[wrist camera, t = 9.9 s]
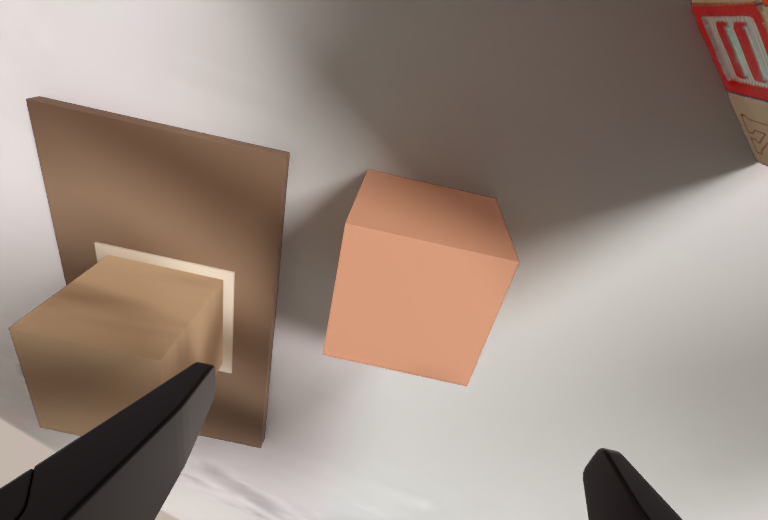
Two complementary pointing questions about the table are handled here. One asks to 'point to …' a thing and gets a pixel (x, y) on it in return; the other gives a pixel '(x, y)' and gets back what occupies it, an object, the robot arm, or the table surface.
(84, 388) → the oak cube
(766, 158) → the stack of blocks
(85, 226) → the brown flat panel
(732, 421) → the table surface
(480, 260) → the terracotta cube
